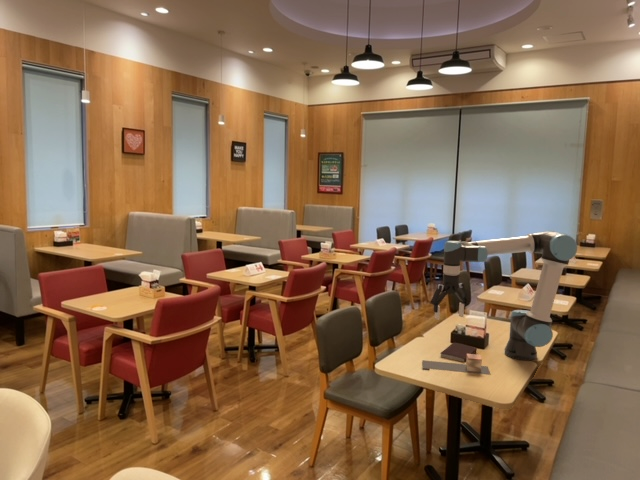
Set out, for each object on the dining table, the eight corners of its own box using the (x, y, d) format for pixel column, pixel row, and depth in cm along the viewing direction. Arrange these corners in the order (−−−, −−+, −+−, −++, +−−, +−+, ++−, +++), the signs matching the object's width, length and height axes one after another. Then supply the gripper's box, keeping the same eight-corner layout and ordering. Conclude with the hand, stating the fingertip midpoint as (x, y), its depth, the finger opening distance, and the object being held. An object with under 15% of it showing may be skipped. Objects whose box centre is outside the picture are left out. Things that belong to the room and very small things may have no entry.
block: (479, 367, 223) (480, 354, 222) (480, 372, 217) (481, 359, 216) (465, 365, 224) (466, 353, 223) (467, 370, 218) (468, 358, 217)
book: (476, 353, 244) (477, 347, 244) (464, 364, 229) (464, 357, 228) (452, 348, 252) (453, 342, 251) (439, 358, 236) (439, 352, 235)
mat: (487, 367, 224) (487, 366, 224) (490, 375, 214) (490, 374, 214) (422, 361, 230) (422, 360, 230) (422, 369, 220) (422, 368, 220)
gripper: (468, 271, 232) (466, 313, 234) (424, 273, 223) (422, 317, 226) (478, 273, 225) (475, 317, 227) (433, 276, 216) (431, 322, 219)
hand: (449, 317), depth 226 cm, fingers open, 13 cm apart
